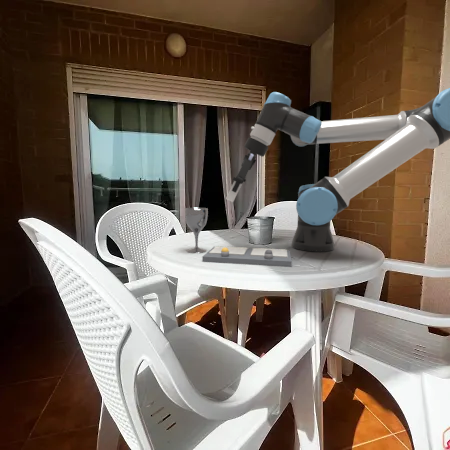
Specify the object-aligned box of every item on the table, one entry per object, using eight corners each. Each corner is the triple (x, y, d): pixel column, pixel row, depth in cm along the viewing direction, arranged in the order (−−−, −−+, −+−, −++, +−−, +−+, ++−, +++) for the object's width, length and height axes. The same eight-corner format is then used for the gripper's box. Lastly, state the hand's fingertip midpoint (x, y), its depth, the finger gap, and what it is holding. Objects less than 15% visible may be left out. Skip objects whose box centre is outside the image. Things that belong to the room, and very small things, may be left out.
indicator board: (289, 254, 90) (289, 242, 90) (291, 266, 76) (291, 252, 75) (214, 250, 95) (214, 239, 95) (202, 261, 81) (202, 248, 80)
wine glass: (183, 253, 91) (182, 209, 90) (187, 248, 99) (187, 207, 97) (206, 253, 91) (206, 209, 89) (209, 248, 99) (208, 207, 97)
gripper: (249, 139, 102) (224, 189, 107) (248, 131, 78) (216, 197, 83) (267, 148, 102) (241, 198, 107) (271, 143, 78) (238, 208, 83)
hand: (230, 198), depth 95 cm, fingers open, 13 cm apart
